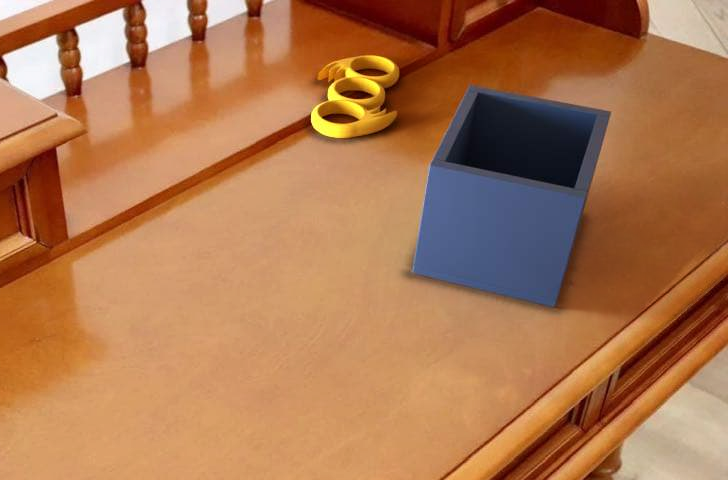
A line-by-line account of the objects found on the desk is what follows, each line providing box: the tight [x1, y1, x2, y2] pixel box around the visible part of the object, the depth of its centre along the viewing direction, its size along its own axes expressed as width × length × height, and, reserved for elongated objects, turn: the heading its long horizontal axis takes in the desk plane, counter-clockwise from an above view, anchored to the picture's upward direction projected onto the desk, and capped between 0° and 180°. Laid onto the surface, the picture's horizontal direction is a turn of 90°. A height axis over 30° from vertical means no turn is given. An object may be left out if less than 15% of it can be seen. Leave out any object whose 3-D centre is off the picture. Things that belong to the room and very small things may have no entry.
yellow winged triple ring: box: [310, 54, 400, 139], centre depth 115 cm, size 17×2×10 cm
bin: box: [412, 84, 612, 308], centre depth 93 cm, size 14×12×11 cm
